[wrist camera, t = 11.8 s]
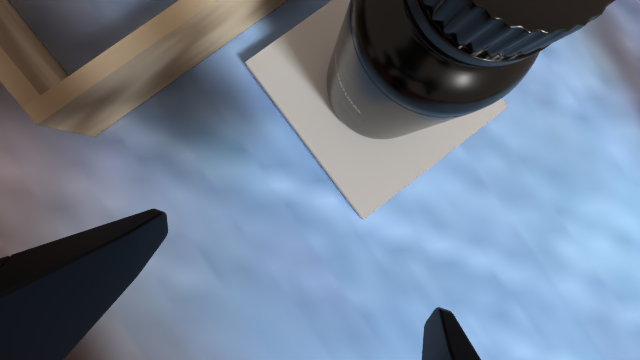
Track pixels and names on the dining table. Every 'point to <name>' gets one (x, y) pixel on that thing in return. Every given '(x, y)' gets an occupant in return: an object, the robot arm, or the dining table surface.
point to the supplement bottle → (439, 57)
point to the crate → (117, 62)
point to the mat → (331, 133)
